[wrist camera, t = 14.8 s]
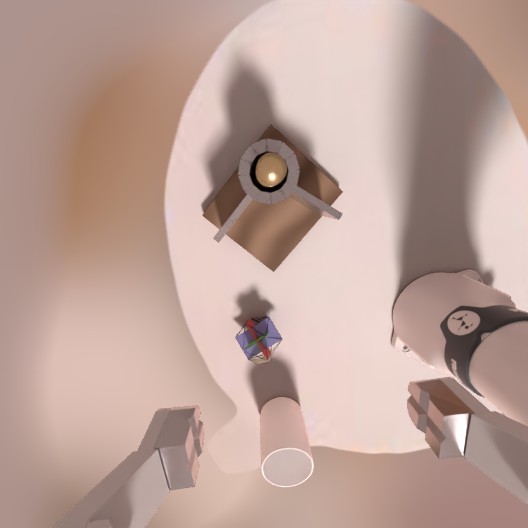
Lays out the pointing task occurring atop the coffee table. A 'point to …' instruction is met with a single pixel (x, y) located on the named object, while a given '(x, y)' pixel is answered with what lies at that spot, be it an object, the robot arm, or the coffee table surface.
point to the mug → (284, 443)
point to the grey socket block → (283, 190)
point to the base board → (272, 211)
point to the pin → (270, 170)
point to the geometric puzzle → (258, 339)
